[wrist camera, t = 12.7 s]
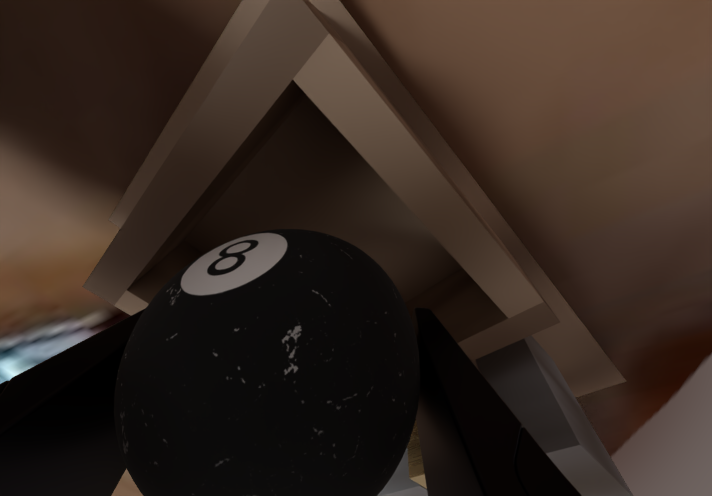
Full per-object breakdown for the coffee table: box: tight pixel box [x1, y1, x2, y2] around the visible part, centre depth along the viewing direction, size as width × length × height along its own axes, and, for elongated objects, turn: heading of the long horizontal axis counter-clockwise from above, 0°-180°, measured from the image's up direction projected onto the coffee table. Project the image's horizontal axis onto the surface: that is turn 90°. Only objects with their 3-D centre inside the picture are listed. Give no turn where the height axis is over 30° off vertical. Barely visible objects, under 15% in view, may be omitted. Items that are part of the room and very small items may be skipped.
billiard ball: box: [114, 229, 420, 496], centre depth 7 cm, size 6×6×6 cm
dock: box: [83, 0, 633, 496], centre depth 11 cm, size 21×11×6 cm, turn 44°
